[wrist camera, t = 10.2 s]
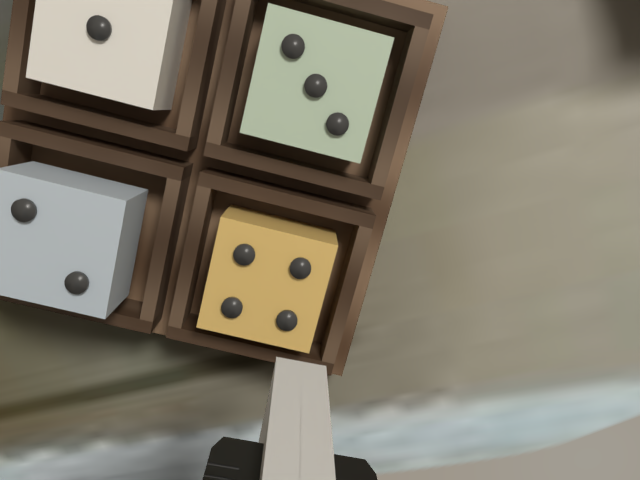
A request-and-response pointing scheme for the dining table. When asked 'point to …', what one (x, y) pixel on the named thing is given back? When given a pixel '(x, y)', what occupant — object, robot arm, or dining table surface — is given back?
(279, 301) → the button four
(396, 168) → the wooden compartment tray
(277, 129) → the button three
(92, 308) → the button two
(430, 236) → the dining table surface
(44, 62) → the button one
